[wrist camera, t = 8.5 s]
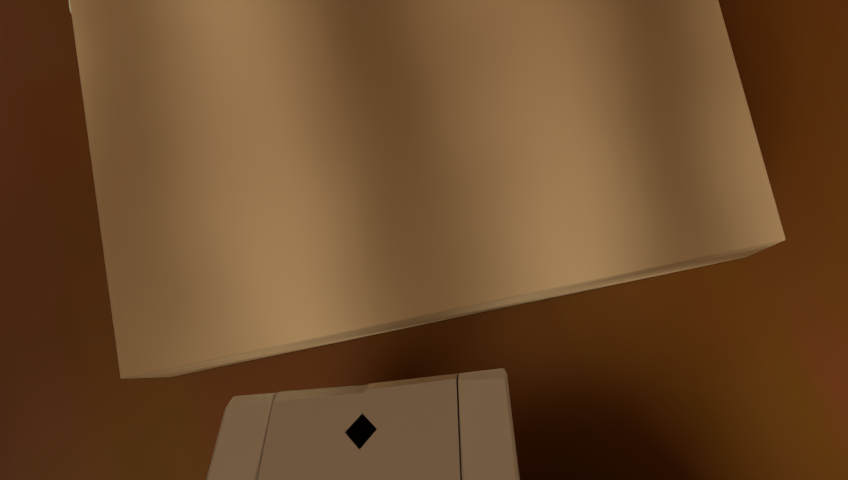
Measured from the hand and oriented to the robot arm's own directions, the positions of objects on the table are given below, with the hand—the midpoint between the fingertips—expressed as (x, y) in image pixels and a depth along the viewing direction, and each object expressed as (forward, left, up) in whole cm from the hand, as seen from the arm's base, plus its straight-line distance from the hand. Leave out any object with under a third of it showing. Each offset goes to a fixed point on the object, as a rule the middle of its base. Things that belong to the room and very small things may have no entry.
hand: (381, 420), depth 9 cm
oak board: (0, -7, -13) cm, 15 cm away
